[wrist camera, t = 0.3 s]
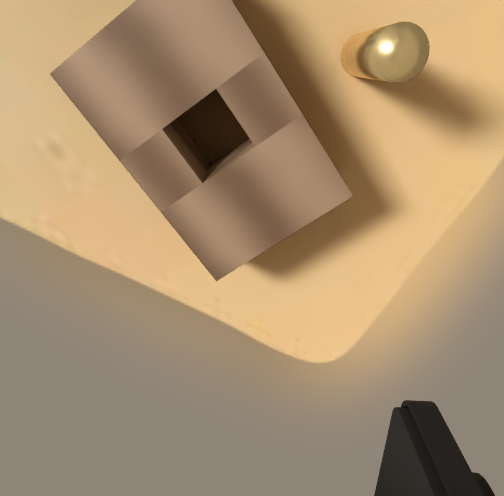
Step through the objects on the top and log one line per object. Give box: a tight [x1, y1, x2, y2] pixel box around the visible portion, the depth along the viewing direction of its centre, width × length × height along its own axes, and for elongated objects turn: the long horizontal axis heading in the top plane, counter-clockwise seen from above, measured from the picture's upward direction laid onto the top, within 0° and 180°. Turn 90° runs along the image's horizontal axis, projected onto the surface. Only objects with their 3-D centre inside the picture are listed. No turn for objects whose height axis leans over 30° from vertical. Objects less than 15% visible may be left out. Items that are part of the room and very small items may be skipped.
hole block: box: [50, 0, 353, 281], centre depth 32 cm, size 12×18×6 cm, turn 35°
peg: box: [341, 22, 429, 82], centre depth 28 cm, size 3×3×10 cm
